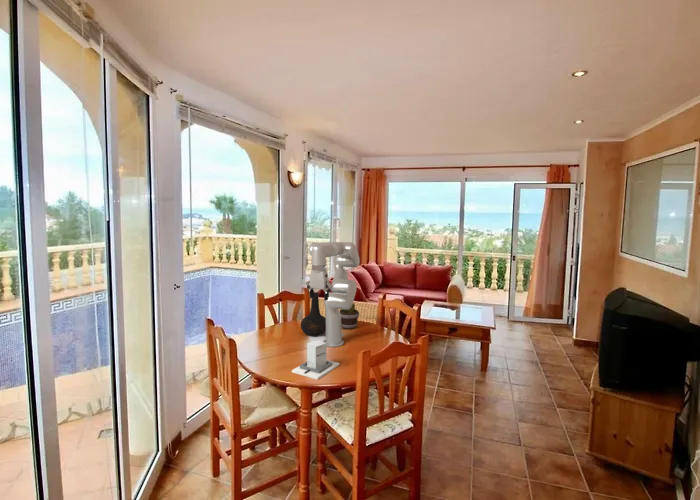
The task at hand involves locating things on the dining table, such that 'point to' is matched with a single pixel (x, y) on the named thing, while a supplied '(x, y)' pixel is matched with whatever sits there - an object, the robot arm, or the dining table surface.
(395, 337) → the dining table surface
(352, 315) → the flowerpot
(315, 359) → the supplement box
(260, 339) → the dining table surface
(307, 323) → the black vase
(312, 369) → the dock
